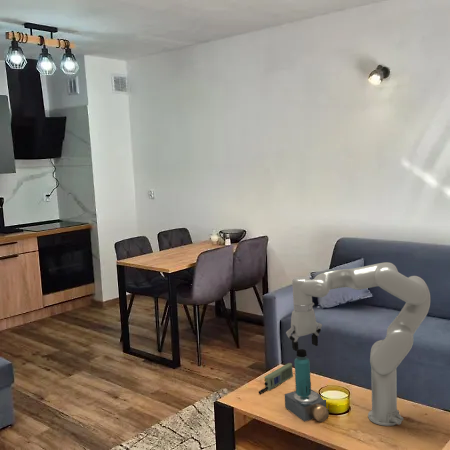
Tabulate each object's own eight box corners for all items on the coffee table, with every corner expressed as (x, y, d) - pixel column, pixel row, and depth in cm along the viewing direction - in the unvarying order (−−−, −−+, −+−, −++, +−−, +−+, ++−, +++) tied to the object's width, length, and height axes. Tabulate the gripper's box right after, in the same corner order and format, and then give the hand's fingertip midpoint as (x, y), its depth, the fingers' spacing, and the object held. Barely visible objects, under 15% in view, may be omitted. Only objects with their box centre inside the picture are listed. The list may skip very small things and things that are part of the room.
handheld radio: (294, 377, 247) (262, 396, 229) (288, 375, 249) (256, 394, 231) (293, 363, 246) (261, 381, 228) (287, 362, 249) (255, 380, 230)
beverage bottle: (306, 401, 207) (304, 354, 204) (292, 397, 211) (290, 351, 209) (314, 395, 212) (312, 349, 209) (300, 391, 216) (298, 346, 214)
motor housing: (334, 417, 206) (334, 402, 205) (310, 425, 201) (310, 410, 200) (308, 400, 222) (307, 386, 221) (285, 407, 217) (284, 393, 216)
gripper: (314, 301, 215) (316, 340, 217) (280, 309, 207) (282, 349, 209) (325, 305, 208) (327, 345, 210) (290, 313, 200) (293, 355, 202)
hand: (305, 347), depth 210 cm, fingers open, 9 cm apart
